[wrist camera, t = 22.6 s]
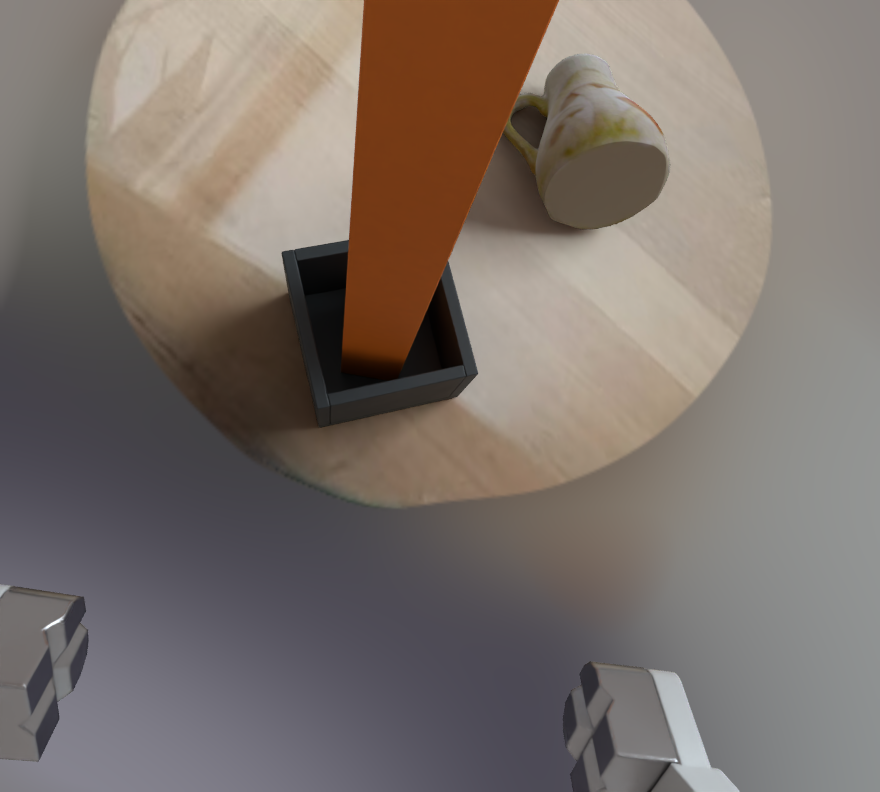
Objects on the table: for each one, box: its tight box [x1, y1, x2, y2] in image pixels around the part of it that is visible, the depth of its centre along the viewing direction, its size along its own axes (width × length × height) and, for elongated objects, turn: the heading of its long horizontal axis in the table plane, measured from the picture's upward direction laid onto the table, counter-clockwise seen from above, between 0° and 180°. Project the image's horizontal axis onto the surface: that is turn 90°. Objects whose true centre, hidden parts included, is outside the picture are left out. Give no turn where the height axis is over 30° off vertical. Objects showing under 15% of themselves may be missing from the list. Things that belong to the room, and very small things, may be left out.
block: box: [341, 0, 559, 381], centre depth 24 cm, size 3×4×28 cm
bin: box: [282, 240, 478, 428], centre depth 35 cm, size 8×8×6 cm
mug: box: [503, 54, 670, 229], centre depth 39 cm, size 8×10×10 cm
